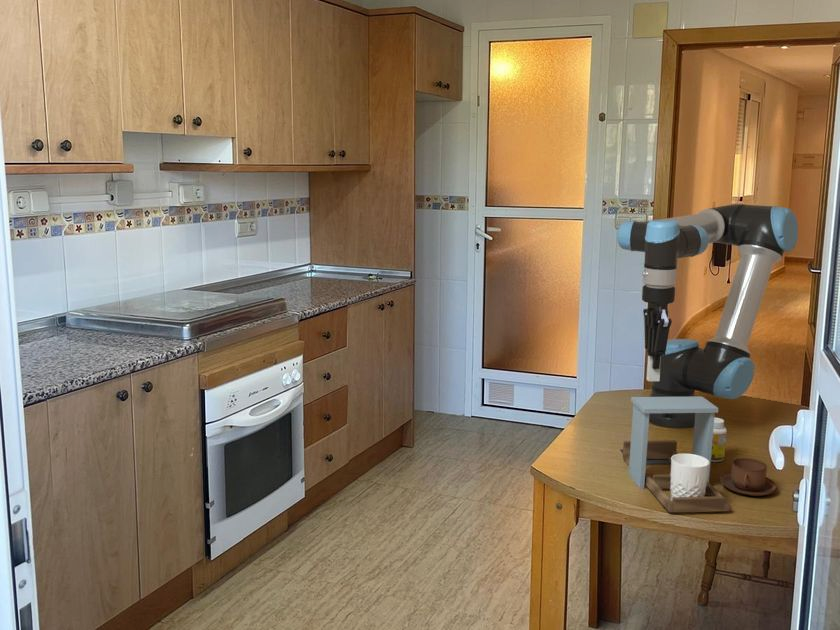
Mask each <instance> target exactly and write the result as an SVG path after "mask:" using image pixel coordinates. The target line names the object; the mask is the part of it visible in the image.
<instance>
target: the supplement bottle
mask: <svg viewBox="0 0 840 630" xmlns="http://www.w3.org/2000/svg"><path fill="white" fill-rule="evenodd" d="M727 432H728V431H727V428H726V427H725V420H724V419H723V418H720V417H714V429H713V440H712V451H711V462H712V463H721V462H722V461H723V460H724V459H725V453H726V442H727V441H726V440H727Z"/></svg>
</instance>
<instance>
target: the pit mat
mask: <svg viewBox="0 0 840 630" xmlns="http://www.w3.org/2000/svg"><path fill="white" fill-rule="evenodd" d="M619 451H620V452H621V453H622V454H623V448H622V449H621V448H620V449H619ZM659 465H660V466H662V465H663V466H664V465H665V466H667V465H668V466H669V465H670V466H671V459H646V466H659Z"/></svg>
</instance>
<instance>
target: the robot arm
mask: <svg viewBox="0 0 840 630" xmlns="http://www.w3.org/2000/svg"><path fill="white" fill-rule="evenodd" d="M798 237H799V224H798V220H797V217H796V214H795V213H794V212H793V210H792V209H790V208H788V207H782V206H777V205H773V206H771V205H757V204H743V203H742V204H741V203H738V204H737V203H735V204H728V205H722V206H716V207H710V208H705V209H702V210H701V211H699V212H698V213H694V214H688V215H681V216H675V217H669V218H662V219H660V218H659V219H652V220H648V221H647V220H646V221H636V220H633V221H631V220H627V221H626V220H625V221H624V222H622V223H621V225H620V226H619V227H618V229H617V237H616V240H617V244H618V245H619V247H620V248H621V249H622V250H626V251H630V252H639V253H640V252H641V253H644V263H643V271H642V272H641V275H642V276H643V280H642V283H643V286H642V290H641V292H642V293H641V300H642V301H643V302H645V303H647V308H644V309H643V311H642V312H643V313H642V314H643V320H644V321H643V324H644V326H643V327H644V348H645V349H646V352H647V367H646V381H647V382H651V392H650V394H649V397H696V396H695V394H696V393H695V391H696V392H701V393H704V394H707V395H712V396H716V397H717V398H721V399H722V398H725V399H728V400H734V399H735V400H736V399H738V398H740V397H741V396H742V395H743V394H745V392H747V390H748V389H749V388H750V385H751V384H752V382H753V379H754V375H755V371H754V370H755V363H754V362H753V360H752V359H751V351H750V350H749V348H748V345H749V341H750V339H751V335H752V332H753V329H754V325H755V323H756V320H757V317H758V313H759V311H760V307H761V304H762V301H763V298H764V294H765V291H766V288H767V286H768V282H769V280H770V277H771V273H772V270H773V267H774V264H775V263H778V262H781V260H782V258H783V255H784V253H785V252H786V253H788V252H791V251H792V250H793V249H794V248H795V247H796V245H797V242H798ZM713 243H716V244H724V245H731V246H737V250H738V253H739V254H740V259H739V262H738V264H737V267H736V270H735V273H734V276H733V279H732V282H731V286H730V288H729V292H728V295H727V297H726V300H725V301H726V302H725V304H724V307H723V310H722V314H721V315H720V318H719V319H720V320H719V322H718V325H717V327H716V328H717V329H716V331H715V334H714V337H712V338H710V339H708V340H707V341H706V342H705V346H704V348H701V347H700V343H699V341H698V340H696V339H691V338H673V339H669V334H670V327H671V325H672V322H673V321H672V318H669V311H668V304H673V303H674V302H675V297H676V287H675V285H676V284H677V272H678V268H677V265H678V264H677V263H678V259H683V258H689V257H690V258H694V257H696V256H699V255H702V254H703V253H704V252H705V251H706V250H707V249H708V246H709V244H713ZM650 423H651V424H653V425H656V426H659V427H666V428H671V429H673V428H674V429H675V428H676V429H686V428H694V424H695V413H650V414H649V424H650Z"/></svg>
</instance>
